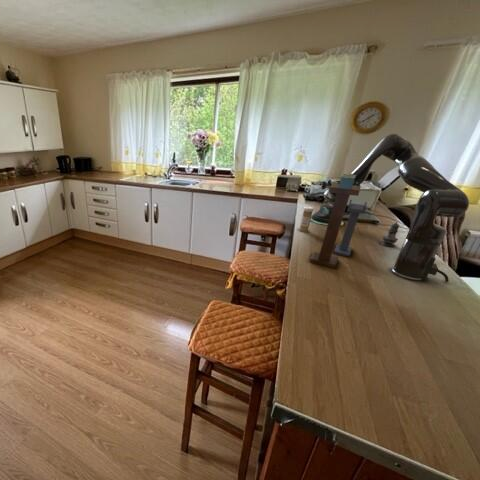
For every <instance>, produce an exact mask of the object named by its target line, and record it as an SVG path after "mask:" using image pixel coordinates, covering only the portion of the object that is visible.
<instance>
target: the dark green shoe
mask: <svg viewBox="0 0 480 480" xmlns="http://www.w3.org/2000/svg"><path fill="white" fill-rule="evenodd" d="M332 209H333V205H330V204H321V205H320V207H319V210H317V211H316V212H314V213H312V216H311V220H310V222H313V223H316V224H319V225H325V226H328V223H329V219H330V216H331V212H332ZM343 225H344V221H342V222H341V225H340V226H343Z"/></svg>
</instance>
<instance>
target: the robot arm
mask: <svg viewBox="0 0 480 480" xmlns="http://www.w3.org/2000/svg"><path fill="white" fill-rule="evenodd" d="M381 156H383V157H385V158H387V159H388V160H390V161H392V162H394V164H396V165H397V166H398V168H397V174H398V175H399V177H400V178H401V180H402V181H403V182H404V183H405V184H406V185H407V186H410V187H411V188H412V189H415V190H417V191H420V192H422V193H421V195H420V196H419V198H418V200H417V202H416V205H415V208H414V211H413V213H412V216H411V219H410V227H409V230H408V232H407V234H406V236H405V239H404V241H403V243H402V247H401V249H400V251H399V253H398V256H397V258H396V260H395V262H394V265H393V267H392V269H391V272H392V273H394V274H395V275H397V276H399V277H401V278H403V279H407V280H410V281H411V280H412V281H418V282H419V281H420V282H426V280H427V278H428V275H432V276H437V274H438V273H439V274H440V275H442V276H443V277H444V281H445V283H449V282H450V279H449V276H448V275H447V274H446V273H445V272H444V271H442V270H440V269H439V267H438V265H437V264H436V263H435V262H436V260H437V259H436V255H437V253H438V251H439V249H440V247H441V244H442V242H443V240H444V238H445V236H446V234H447V231H448V230H447V229H446V228H445V227H443V226H441V225H439V224H436V223H435V220H436V219H435V218H436V217H440V218H441V217H442V218H453V217H460V216H461V215H463V214H465V213H466V212H467V211H468V209H469V208H470V207H469V206H470V200H469V197H468V195H467V194H466V192H464V191H463V190H462V189H460V187H458V186H456V185H454V183H452V182H450V181H449V180H448V179H447V178H446V177H445V176H444V175H443V174H441V173H440V172H439V171H438V170H437V169H436V168H435V167H434V165H432V164H431V163H430V162H429V160H427V159H426V158H425V157H423V156H422V155H420V154H419V153H418V152H417V150H416V149H415V147H414V145H413V144H412V142H411V141H410V140H408V139H406V138H405V137H403V136H401V135H399V134H397V133H390V134H387V135H386V136H384V137H383V138H382V139H381V140H380V141H379V142H377V144H376V145H375V146H374V147H373V148H372V149H371V151H370V152H369V153H368V154H367V155H366V157H364V159H363V160H362V161H361V162H360V163H359V165H358V166H357V167H356V168H355V169H354V170H353V171H352V172H351V173H350V174H353V175H356V177H355V180H354V184H353V185H354V186H361V184H363V183H364V182H365V181H366V179H367V178H368V176H369V174H370V172H371V169H372V167H373V165H374V164H375V162H376V161H377V160H378V159H379V158H380V157H381ZM333 183H335V184H339V183H340V180H335V181H332V179H329V180H326V181H325V180H324V181H322V183H321V187H320V188H321V190H322V191H324V190H325V191H324V193H323V198H324V199H326V200H327V201H328V202H329V203H330V204H331V206H333V205H334V202H335V198H336V195H337V193H331V192H329V190H330V187H331V186H332V185H333ZM326 189H327V190H326Z"/></svg>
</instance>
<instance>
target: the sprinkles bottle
mask: <svg viewBox="0 0 480 480" xmlns="http://www.w3.org/2000/svg"><path fill="white" fill-rule="evenodd" d="M313 212H314V207H313V206H304V207H303V211H302V216H301V220H300V225H299V228H298V230H299V231H300V232H302V233H303V232H304V233H306V232H308V231H309V228H310V224H311V216H312V215H313Z"/></svg>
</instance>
